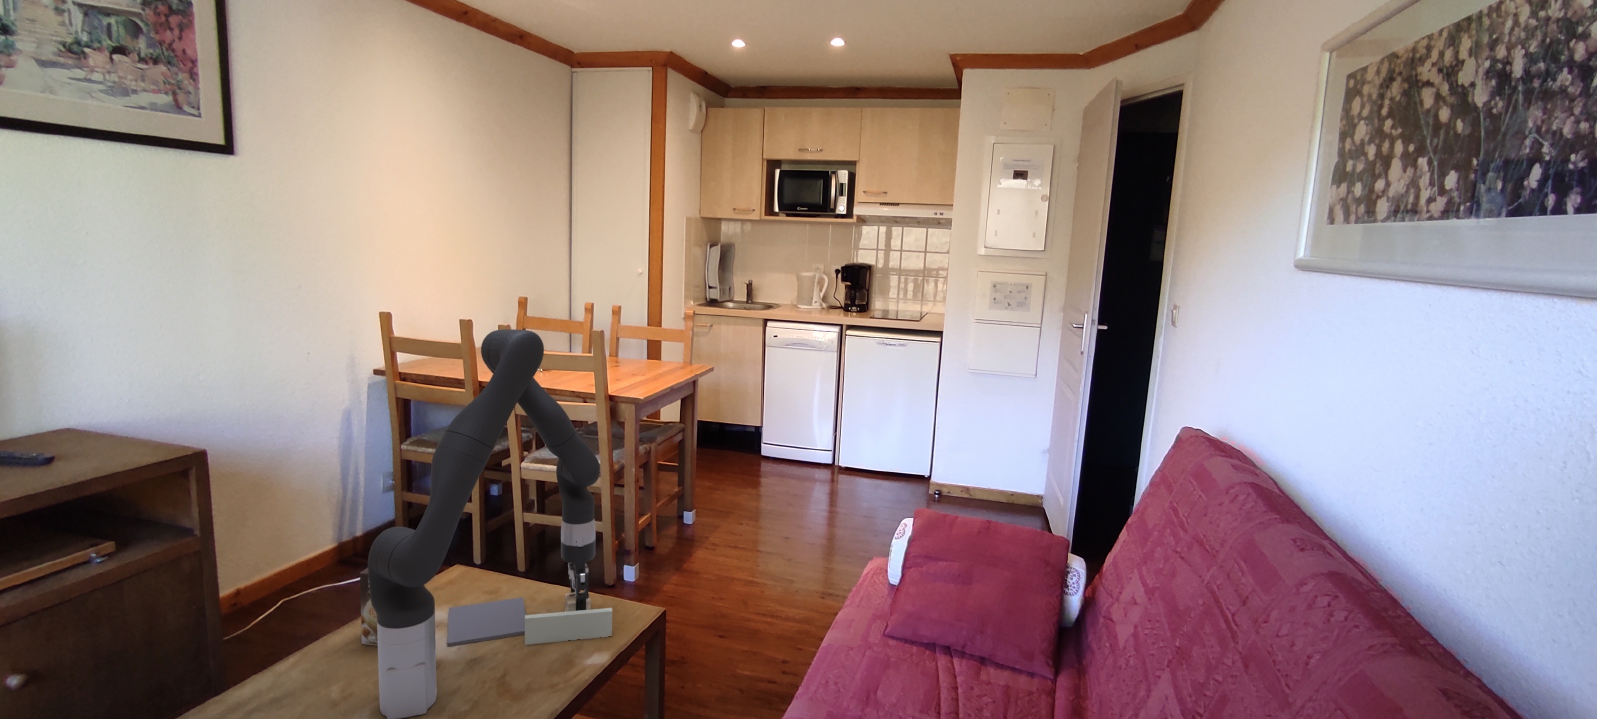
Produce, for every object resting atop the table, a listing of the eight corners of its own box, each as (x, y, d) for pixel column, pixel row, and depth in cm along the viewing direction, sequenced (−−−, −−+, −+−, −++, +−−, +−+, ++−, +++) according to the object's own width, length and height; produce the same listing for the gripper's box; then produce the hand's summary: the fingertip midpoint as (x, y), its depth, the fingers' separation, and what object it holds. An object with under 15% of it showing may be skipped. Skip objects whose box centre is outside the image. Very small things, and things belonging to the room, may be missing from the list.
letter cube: (590, 620, 164) (590, 599, 164) (567, 624, 162) (567, 603, 161) (587, 610, 169) (587, 590, 168) (564, 613, 167) (565, 593, 166)
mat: (528, 633, 157) (528, 630, 157) (447, 646, 151) (447, 643, 150) (523, 600, 172) (523, 596, 172) (448, 610, 165) (448, 607, 165)
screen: (611, 636, 158) (612, 610, 157) (524, 644, 153) (524, 618, 152) (611, 632, 160) (612, 607, 159) (525, 641, 154) (525, 615, 153)
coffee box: (359, 644, 150) (357, 572, 147) (380, 629, 156) (378, 559, 153) (401, 649, 149) (399, 576, 146) (420, 633, 155) (418, 563, 153)
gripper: (557, 527, 168) (557, 592, 170) (565, 552, 155) (565, 621, 157) (590, 523, 171) (589, 587, 173) (600, 547, 158) (600, 615, 161)
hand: (578, 603), depth 165 cm, fingers open, 8 cm apart
